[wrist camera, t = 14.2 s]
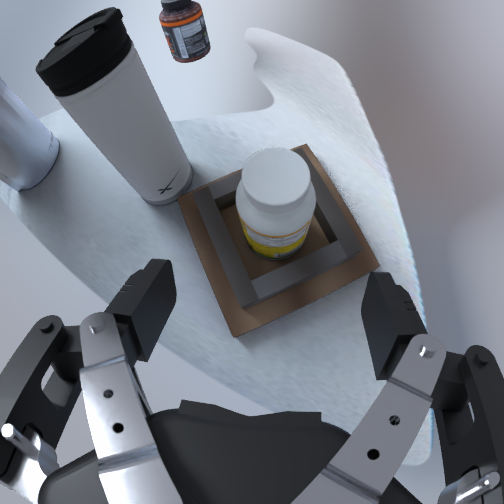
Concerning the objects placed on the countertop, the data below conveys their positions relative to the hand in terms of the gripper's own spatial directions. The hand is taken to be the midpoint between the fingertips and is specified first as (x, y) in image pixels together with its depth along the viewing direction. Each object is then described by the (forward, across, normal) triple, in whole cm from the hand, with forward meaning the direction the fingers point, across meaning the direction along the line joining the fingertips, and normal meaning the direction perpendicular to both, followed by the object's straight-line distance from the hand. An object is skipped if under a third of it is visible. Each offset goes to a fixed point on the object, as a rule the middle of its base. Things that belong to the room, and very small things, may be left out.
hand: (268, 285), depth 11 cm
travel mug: (+19, +12, +1) cm, 23 cm away
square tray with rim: (+15, 0, +5) cm, 16 cm away
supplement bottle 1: (+36, +14, -15) cm, 41 cm away
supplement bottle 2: (+14, 0, +4) cm, 15 cm away
